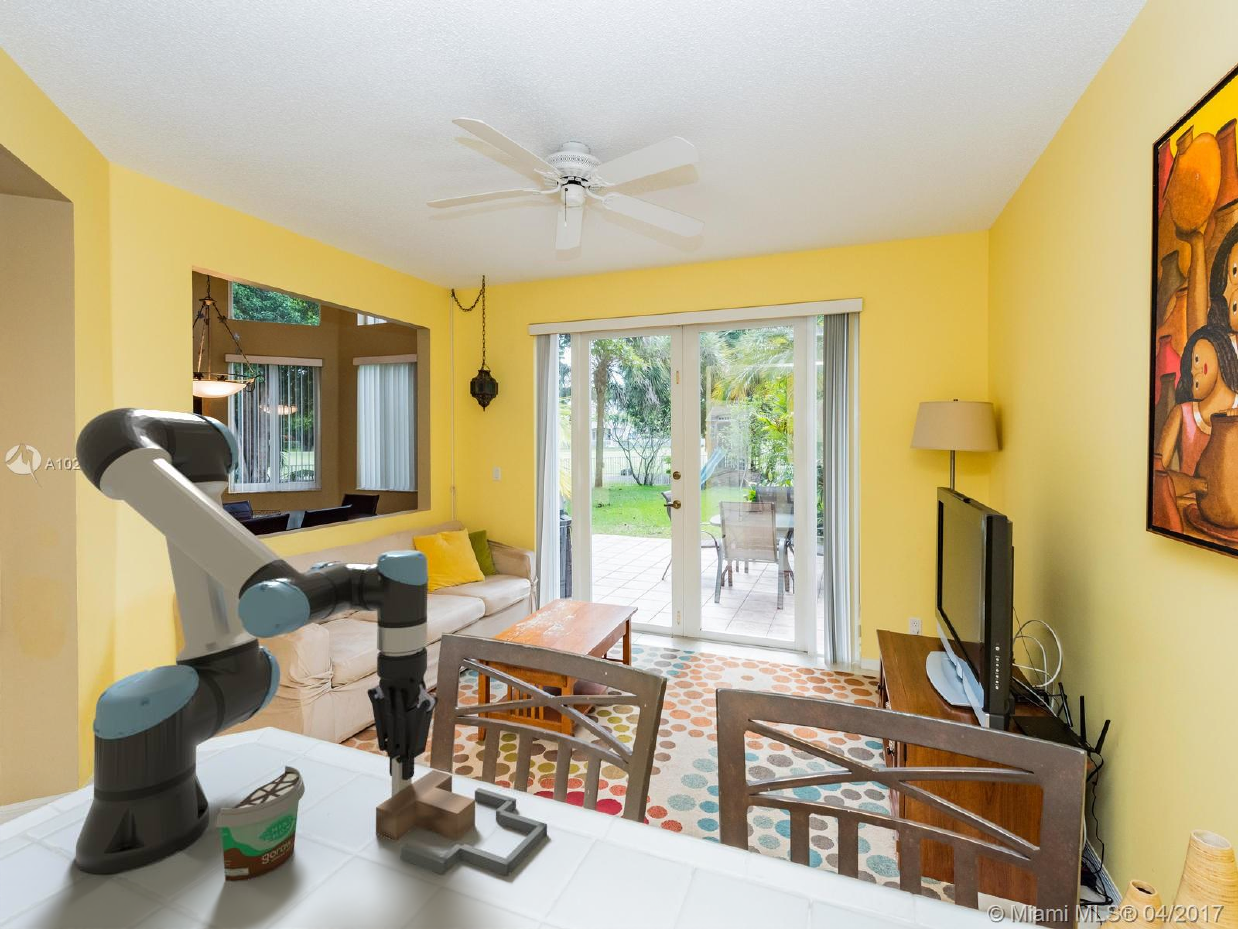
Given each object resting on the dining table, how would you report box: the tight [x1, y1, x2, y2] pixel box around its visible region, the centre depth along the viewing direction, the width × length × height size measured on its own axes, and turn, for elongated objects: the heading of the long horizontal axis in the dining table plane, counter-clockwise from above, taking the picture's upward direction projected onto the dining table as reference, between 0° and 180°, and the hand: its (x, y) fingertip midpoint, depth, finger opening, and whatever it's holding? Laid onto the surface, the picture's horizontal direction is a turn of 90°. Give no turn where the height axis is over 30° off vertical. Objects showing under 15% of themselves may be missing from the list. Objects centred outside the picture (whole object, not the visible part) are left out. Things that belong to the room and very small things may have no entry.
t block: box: [375, 769, 476, 842], centre depth 90 cm, size 12×12×4 cm
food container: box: [216, 765, 306, 882], centre depth 81 cm, size 12×6×10 cm, turn 168°
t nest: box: [400, 787, 548, 877], centre depth 86 cm, size 16×17×2 cm
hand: (401, 797), depth 93 cm, fingers closed
